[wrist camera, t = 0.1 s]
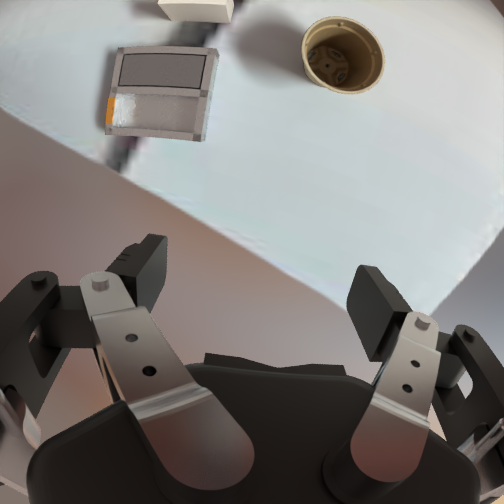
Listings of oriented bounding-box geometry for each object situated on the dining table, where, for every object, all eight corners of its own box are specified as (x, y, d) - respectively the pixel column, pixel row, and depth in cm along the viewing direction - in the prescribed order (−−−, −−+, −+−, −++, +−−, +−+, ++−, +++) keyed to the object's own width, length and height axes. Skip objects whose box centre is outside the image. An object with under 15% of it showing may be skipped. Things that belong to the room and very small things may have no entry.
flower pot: (354, 107, 35) (379, 104, 27) (285, 91, 35) (295, 82, 27) (363, 47, 31) (389, 32, 24) (296, 29, 31) (308, 7, 23)
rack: (126, 52, 32) (115, 47, 28) (219, 55, 32) (216, 48, 29) (114, 133, 36) (102, 134, 33) (205, 140, 37) (200, 141, 34)
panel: (176, 3, 29) (163, -16, 22) (233, 6, 29) (230, -15, 23) (171, 21, 30) (157, 3, 24) (229, 23, 31) (225, 5, 24)
